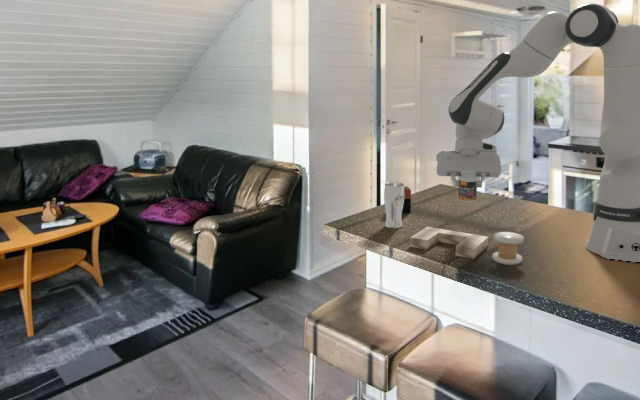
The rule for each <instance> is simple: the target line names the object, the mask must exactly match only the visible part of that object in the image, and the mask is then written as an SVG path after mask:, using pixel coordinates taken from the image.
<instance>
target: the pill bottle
mask: <svg viewBox="0 0 640 400" xmlns="http://www.w3.org/2000/svg"><path fill="white" fill-rule="evenodd" d="M461 175H462V177H459V179H458V180H459V187H458V192H457V193H458V195H457V196H458V201H459V202H461V203H466V204H467V203H468V204H469V203H470V204H471V203H475V202H476V201H477V193H478V189H477V188H478V187H477V180H478V177H475V176H476V171H475V170H461Z"/></svg>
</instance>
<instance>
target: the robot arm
mask: <svg viewBox="0 0 640 400" xmlns="http://www.w3.org/2000/svg"><path fill="white" fill-rule="evenodd" d="M570 44H577V45H580V46H582V47H584V48H585V47H586V48H599V49H600V50H601V53H602V56H603V106H602V113H601V123H600V137H599V147H600V150H601V152H603V154H604V155H605V158H604V162H603V166H602V170H601V171H600V172H601V173H600V176H599V182H598V184H599V185H598V192H597V200H596V201H595V202H594V208H593V216H592V217H593V219H592V220H593V224H592V227H591V231H590V235H589V237H588V239H587V242H586V243H585V248H586V250H588V251H590V252H591V253H594V254H597V255H599V256H601V257H602V258H604V259H605V258H606V260H609V259H615V260H614V261H618V260H622V261H621V262H626V261H631V262H630V263H635V262H640V25H639V24H633V23H628V24H619V20H618V17H617V15H616V13H614V12H613V10H611V9H609V8H608V7H607V6H605V5H601V4H597V3H593V2H592V3H585V4H581V5H579V6H577V7H576V8H575V9H573V10H572V11H571V13H569V15H566V14H564V13H562V12H559V11H550V12H548V13H546V14H544V15H543V16H542V17H541V18H540V19H539V20H538V21H537V22H536V23H535V24H534V26H532V28H531V29H530V30H529V31H528V33H527V34H525V36H524V37H523V39H522V41H520V43H518V45H516V46H515V47H514V48H512V49H511V50H509V51H506V52H501V53H500V54H497V56H496V57H495V58H494V59H493V60H491V62H489V63H488V65H486V67H484V69H483V70H482V71H481V72H480V73H479V74H477V76H476V77H475V78H474V79H473V80H472V81H471V82H470V83H469V84H468V85H467V86H466V87H465V88H464V89H463V90H462V91H461V92H459V93H458V94H457V95H456V96H455V97H453V99H452V100H451V102H450V103H449V106H448V114H449V118H450V119H451V121H452V123H454V124H456V126H455V137H456V140H455V143H454V144H455V147H454V150H441V151H440V152H438V153H436V157H435V158H436V162H437V164H436V174H437V175H438V177H450V179H451V180H452V182H453V184H454V185H453V186H454V188H459V179H457V177H458V178H460V177H462V175H461V170H475V171H476V176H475V177H476V178H480V180H478V179H477V188H482V187H483V183H484V182H485V180H486V178H498V177H500V176H501V172H502V163H501V158H500V156H499V154H498V153H497V151H498V150H497V145H495V144H491V143H487V142H484V140H487V139H488V138H489V139H490V138H491V137H493V136H494V135H497V134H498V133H499V132H501V130H502V129H503V126H504V124H505V113H504V111H503V109H501V108H500V107H498V106H496V105H494V104H492V103H490V102H486V101H485V100H483V99H481V96H482V95H484V94H485V93H486V92H487V91H488V90H489V88H491V87H492V85H494V84H495V83H496V82H497V81H499V80H502V79H503V78H510V77H512V78H533V77H534V78H535V77H536V76H537V77H538V76H539V75H542V74H543V73H544V72H545V71H546V70H548V68H549V67H550V66H551V65H552V64H553V62H554V61H555V60H556V58H557V57H558V56H559V54H561V52H562V51H563V50H564V48H565V47H567V46H568V45H570Z"/></svg>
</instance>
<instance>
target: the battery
mask: <svg viewBox="0 0 640 400" xmlns="http://www.w3.org/2000/svg"><path fill="white" fill-rule="evenodd" d="M411 203H412V190H411V188H410V187H409V186H407V185H404V205H403V209H402V214H409V213H411V212H412V211H411V207H412V204H411Z"/></svg>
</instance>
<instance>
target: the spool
mask: <svg viewBox="0 0 640 400" xmlns="http://www.w3.org/2000/svg"><path fill="white" fill-rule="evenodd" d="M493 240H494V241H495V242H497V243H498V247H497V249H498V250H497V251H496V252H493V253H492V255H491V256H492V257H491V259H492V260H493V262H495V263H498V264H502V265H506V266H508V265H509V266H515V265H519V264H522V262H523V256H522V255H520V254H518V246H519V245H520V244H523V243H524V241H525V237H524V236H523V235H522V234H519V233H517V232H512V231H511V232H510V231H499V232H495V233H494V234H493Z"/></svg>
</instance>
